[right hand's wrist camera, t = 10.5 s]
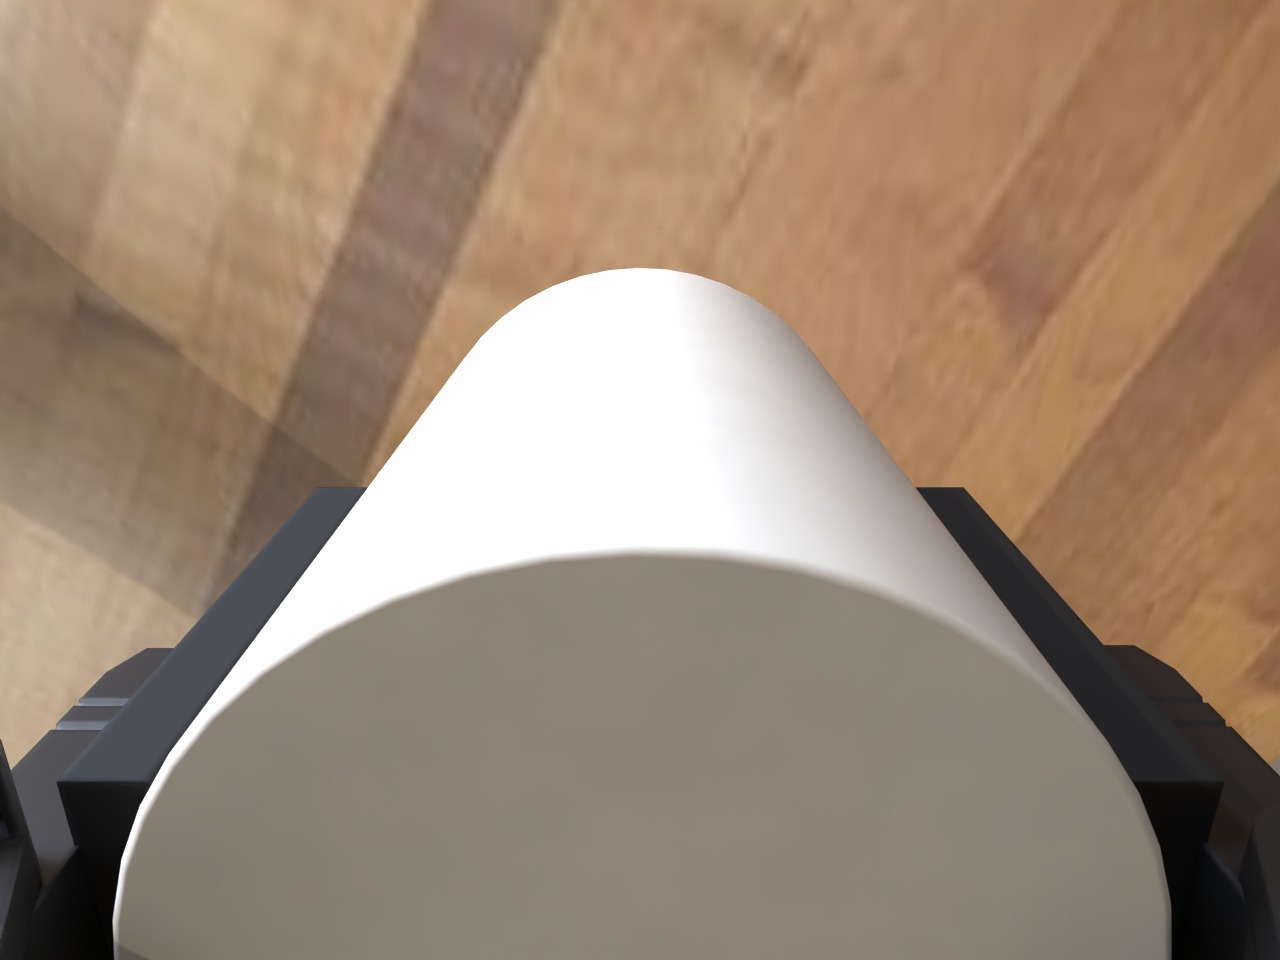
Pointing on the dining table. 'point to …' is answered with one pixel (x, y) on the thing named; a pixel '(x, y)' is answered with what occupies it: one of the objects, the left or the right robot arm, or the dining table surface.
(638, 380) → the can
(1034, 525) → the dining table surface
